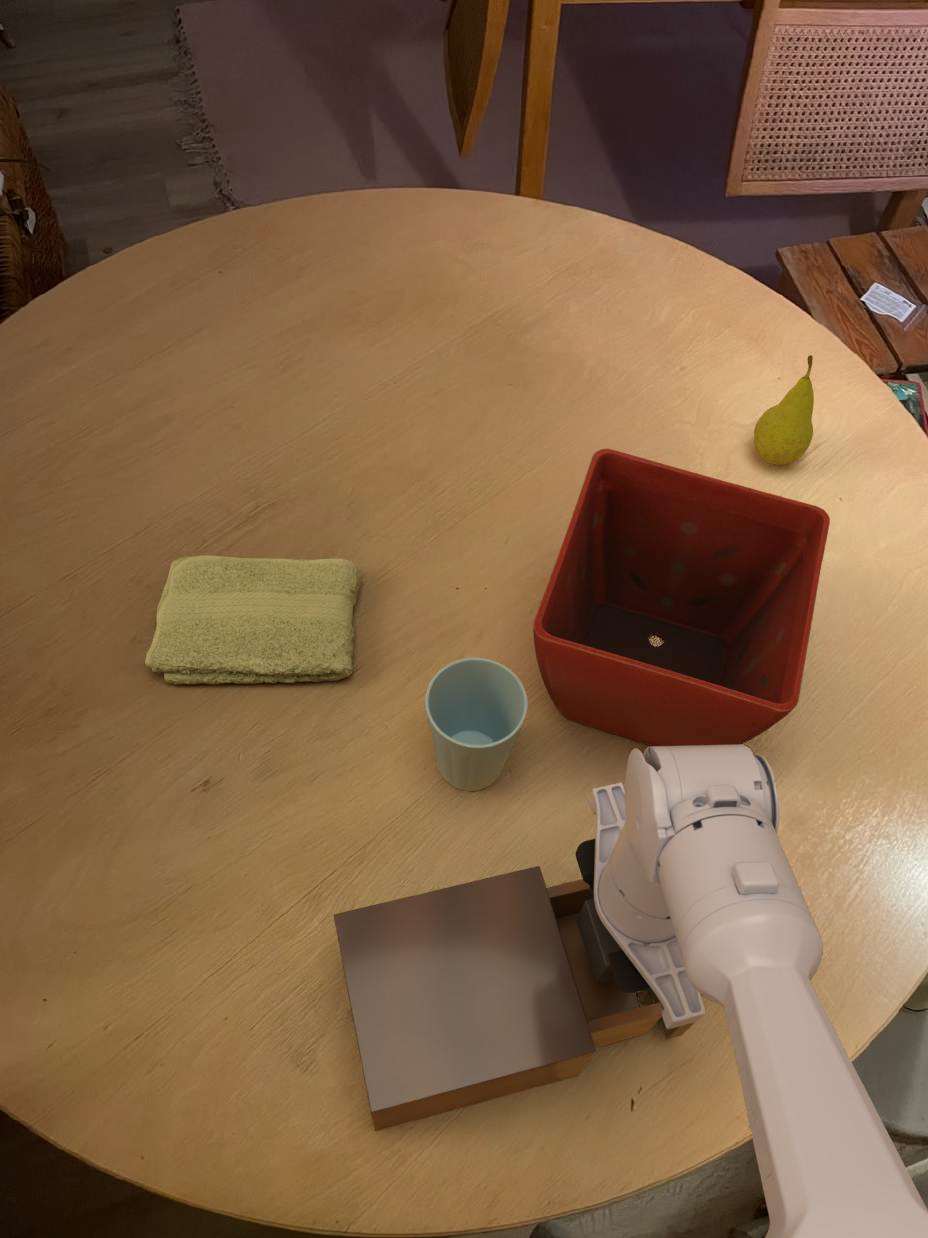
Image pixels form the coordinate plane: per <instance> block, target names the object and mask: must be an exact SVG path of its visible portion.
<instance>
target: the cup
mask: <svg viewBox="0 0 928 1238" xmlns="http://www.w3.org/2000/svg"><path fill="white" fill-rule="evenodd" d="M424 705H425V707H424V708H425V712H426V717H427V722H428V726H429V730H430V734H431V741H432V746H433V750H434V755H435V759H436V760H435V761H436V764H437V769H438V772H439V773H440V775H441V776H442V778H443V779H444V781H445V782H446V783H448V784H449V785H450V786H451V787H454V788H455V789H457V790H460V791H464V792H465V791H466V792H476V791H477V792H478V791H481V790H485V789H486V788H489V787H490V786H492V785H493V784H494V783H495V782H496V781H497V780H498V779H499V778H500V775H501V774H502V772H503V769H504V767H505V765H506V762H507V760H508V758H509V756H510V753H511V751H512V749H513V747H514V744H515V742H516V739H517V738H518V735H519V734H520V732H521V729H522V727H523V725H524V723H525V721H526V718H527V714H528V710H529V709H528V708H529V700H528V694H527V691H526V688H525V686H524V684H523V682H522V680H521V679H520V678H519V676H518V675H517V674H516V673H515V672H514V671H513V670H511V669H510V668H509V667H508V666H506V665H504V664H502V663H501V662H498V661H497V660H493V659H489V658H485V657H466V658H465V657H464V658H460V659H457V660H455V661H452V662H450V663H448V664H446V665H445V666H443V667H442V668H441V669H440V670H438V671H437V672H436V673H435V675H434V676H433V677H432V679H431V680H430V682H429V684H428V686H427V688H426V692H425V698H424Z"/></svg>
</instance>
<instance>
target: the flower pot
mask: <svg viewBox="0 0 928 1238" xmlns="http://www.w3.org/2000/svg"><path fill="white" fill-rule="evenodd" d="M830 524H831V518H830V515H829V514H828V513H827V511H826V510H825V509H823V508H821V507H819V506H818V505H814V504H810V503H806V502H803V501H800V500H796V499H792V498H788V497H784V496H782V495H777V494H773V493H770V492H766V491H762V490H759V489H755V488H751V487H748V486H744V485H740V484H737V483H734V482H729V481H726V480H722V479H718V478H715V477H712V476H707V475H704V474H700V473H697V472H693V471H690V470H686V469H684V468H680V467H676V466H672V465H668V464H665V463H662V462H658V461H654V460H651V459H647V458H644V457H640V456H637V455H633V454H630V453H627V452H624V451H619V450H616V449H611V448H602V449H599V450H597V451H595V452H594V453H593V455H592V456H591V459H590V462H589V465H588V468H587V471H586V474H585V477H584V481H583V482H582V486H581V490H580V492H579V495H578V497H577V501H576V504H575V506H574V510H573V512H572V515H571V518H570V520H569V523H568V527H567V530H566V532H565V535H564V537H563V541H562V544H561V546H560V549H559V552H558V555H557V557H556V560H555V563H554V565H553V568H552V571H551V574H550V576H549V579H548V582H547V585H546V587H545V590H544V592H543V596H542V597H541V600H540V604H539V606H538V609H537V612H536V614H535V617H534V619H533V624H532V625H533V627H532V628H533V629H532V633H533V644H534V651H535V657H536V662H537V666H538V669H539V673H540V677H541V679H542V683H543V684H544V687H545V690H546V691H547V694H548V695H549V697H550V700H551V701H552V703H553V705H554V707H555V708H556V709H557V710H558V711H559V713H560V715H562V716H563V717H564V718H565V719H567V720H569V721H572V722H575V723H578V724H582V725H584V726H588V727H592V728H594V729H597V730H600V731H603V732H607V733H610V734H613V735H616V736H620V737H623V738H626V739H629V740H632V741H636V742H639V743H641V744H645V745H647V746H650V747H651V746H696V745H740V744H743V745H744V744H745V743H747V742H749V741H751V740H753V739H755V738H756V737H758V736H759V735H761V734H763V733H765V732H766V731H768V730H769V729H770V728H772V727H773V726H774V725H776V724H778V723H779V722H780V721H781V720H783V719H784V718H785V717H787V716H788V715H789V714H790V713H791V712H792V711H793V710H794V709H795V708H796V707H797V706H798V703H799V701H800V697H801V696H800V695H801V690H802V684H803V683H802V682H803V676H804V670H805V665H806V660H807V653H808V647H809V641H810V634H811V629H812V624H813V618H814V612H815V606H816V599H817V593H818V588H819V582H820V576H821V571H822V566H823V561H824V557H825V556H824V555H825V551H826V546H827V545H826V544H827V539H828V534H829V528H830ZM652 635H658V636H660V637H661V638H662V641H663V642H662V644H661V645H658V646H656V645H654V644H651V641H650V637H651V636H652Z"/></svg>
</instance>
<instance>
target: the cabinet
mask: <svg viewBox="0 0 928 1238" xmlns="http://www.w3.org/2000/svg"><path fill="white" fill-rule="evenodd" d="M547 888H548V887H547V886H546V882H545V879H544V876H543V873H542V870H541V866H540V865H536V866H533V867H528V868H525V869H520V870H515V871H512V872H507V873H504V874H499V875H495V876H490V877H486V878H482V879H477V880H474V881H471V882H470V881H469V882H465V883H460V884H457V885H453V886H447V887H443V888H440V889H436V890H431V891H427V892H422V893H418V894H414V895H410V896H407V897H406V896H405V897H402V898H401V897H400V898H398V899H393V900H389V901H385V902H381V903H380V902H379V903H377V904H372V905H368V906H364V907H359V908H355V909H351V910H346V911H342V912H338V913H334V914H333V920H334V924H335V931H336V937H337V941H338V947H339V951H340V956H341V962H342V968H343V973H344V978H345V983H346V988H347V995H348V1000H349V1004H350V1010H351V1015H352V1019H353V1021H352V1022H353V1025H354V1031H355V1037H356V1041H357V1046H358V1047H357V1048H358V1052H359V1057H360V1062H361V1068H362V1073H363V1078H364V1083H365V1088H366V1089H365V1090H366V1094H367V1100H368V1105H369V1109H370V1116H371V1119H372V1124H373V1129H374V1132H379V1131H382V1130H386V1129H389V1128H393V1127H396V1126H400V1125H403V1124H404V1125H405V1124H408V1123H411V1122H414V1121H419V1120H423V1119H426V1118H429V1117H434V1116H437V1115H440V1114H445V1113H448V1112H451V1111H456V1110H458V1109H463V1108H466V1107H470V1106H474V1105H477V1104H481V1103H485V1102H488V1101H492V1100H495V1099H499V1098H503V1097H506V1096H510V1095H513V1094H516V1093H521V1092H525V1091H527V1090H531V1089H534V1088H535V1089H536V1088H539V1087H543V1086H545V1085H549V1084H554V1083H557V1082H561V1081H563V1080H568V1079H572V1078H575V1077H578V1076H579V1075H580V1073H581V1072H582V1071H583V1069H584V1068H585V1067H586V1065H588V1063H589V1062H590V1060H591V1059H592V1058H593V1056H594V1055H595V1054H596V1053H597V1049H596V1048H595V1046H594V1042H593V1039H592V1036H591V1032H590V1029H589V1026H588V1023H587V1019H586V1016H585V1013H584V1010H583V1006H582V1003H581V1000H580V996H579V993H578V990H577V987H576V983H575V980H574V977H573V973H572V970H571V967H570V964H569V960H568V957H567V954H566V951H565V947H564V944H563V941H562V937H561V934H560V931H559V928H558V924H557V921H556V918H555V914H554V911H553V908H552V905H551V901H550V898H549V895H548V892H547Z"/></svg>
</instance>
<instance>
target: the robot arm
mask: <svg viewBox="0 0 928 1238" xmlns="http://www.w3.org/2000/svg"><path fill="white" fill-rule="evenodd" d="M626 764H627V765H626V772H625V780H624V781H625V783H624V784H623V782H621V781H620V782H616V783H611V784H607V785H603V786H598V787H593V788H592V790H591V792H590V795H589V798H588V804H589V806H590V810H591V813H592V814H594V816H595V835H594V838H591V839H587V840H584V841H582V842H581V843H580V844H579V845H578V846H577V848H576V850H575V853H574V855H575V860H576V862H577V865H578V868H579V872H580V875H581V877H582V878H581V879H583V880H584V882H586V883H587V884H589V887H590V895H591V899H594V902H595V907H596V911H597V913H598V915H599V918H600V920H601V921H602V923H603V924H604V926H605V927H606V929H607V930H608V931H609V933H610V934H611V935H612V937H613V938H614V939H615V941H616V942H617V943H618V945H619V946H620V947H621V949H622V950H620V951H617V952H613V953H609V954H608V958H609V961H610V964H611V967H612V970H613V973H614V976H615V979H616V982H617V984H618V986H619V988H620V990H621V991H622V992H624V993H639V992H642V991H648V990H649V989H651V988H652V990H653V991H654V992H655V994H656V995H657V997H658V998H659V1000H660V1001H661V1003H662V1005H663V1007H664V1009H663V1011H662V1017H663V1020H664V1023H665V1026H666V1028H667V1029H671V1028H675V1027H679V1026H683V1025H686V1024H690V1023H693V1022H695V1023H697V1022H699V1021H700V1020H701V1019H702V1018H703V1017H704V1016H705V1015H706V1014H707V1011H706V1008H705V1005H704V1001H703V997H704V998H705V999H707V1000H708V1001H710V1002H712V1003H715V1004H717V1005H719V1006H721V1007H723V1008H724V1011H725V1015H726V1021H727V1025H728V1030H729V1035H730V1040H731V1043H732V1048H733V1053H734V1059H735V1063H736V1068H737V1073H738V1077H739V1082H740V1087H741V1091H742V1096H743V1102H744V1105H745V1110H746V1115H747V1119H748V1124H749V1127H750V1128H749V1129H750V1133H751V1139H752V1142H753V1149H754V1152H755V1157H756V1162H757V1166H758V1170H759V1171H758V1172H759V1176H760V1181H761V1185H762V1190H763V1195H764V1199H765V1204H766V1209H767V1213H768V1218H769V1226H768V1231H767V1232H766V1235H765V1237H764V1238H928V1208H927V1206H926V1204H925V1202H924V1200H923V1199H922V1196H921V1195H920V1193H919V1190H918V1189H917V1187H916V1185H915V1183H914V1180H912V1177H911V1176H910V1173H909V1171H908V1168H906V1166H905V1163H904V1162H903V1160H902V1158H901V1155H900V1153H899V1152H898V1150H897V1147H896V1146H895V1144H894V1142H893V1140H892V1138H891V1137H890V1134H889V1132H888V1130H887V1128H886V1127H885V1124H884V1122H883V1121H882V1119H881V1117H880V1114H879V1113H878V1110H877V1109H876V1107H875V1105H874V1104H873V1101H872V1099H871V1097H870V1095H869V1093H868V1092H867V1089H866V1087H865V1086H864V1083H863V1082H862V1080H861V1078H860V1076H859V1073H858V1072H857V1070H856V1067H855V1066H854V1064H853V1062H852V1060H851V1058H850V1056H849V1054H848V1052H847V1049H846V1048H845V1047H844V1044H843V1042H842V1041H841V1039H840V1037H839V1034H838V1033H837V1031H836V1029H835V1027H834V1025H833V1023H832V1021H831V1019H830V1017H829V1015H828V1013H827V1011H826V1010H825V1007H824V1006H823V1003H822V1001H821V999H820V998H819V996H818V994H817V992H816V990H815V988H814V986H813V983H812V980H813V978H814V976H815V975H816V973H817V971H818V969H819V967H820V964H821V962H822V959H823V954H824V942H823V939H822V936H821V933H820V931H819V929H818V927H817V924H816V922H815V920H814V918H813V915H812V913H811V910H810V909H809V906H808V903H807V901H806V898H805V897H804V894H803V892H802V890H801V887H800V885H799V883H798V880H797V878H796V876H795V874H794V871H793V869H792V866H791V865H790V862H789V859H788V857H787V854H786V852H785V850H784V848H783V846H782V843H781V840H780V838H779V836H778V831H779V825H780V803H779V801H780V800H779V794H778V788H777V784H776V779H775V775H774V772H773V769H772V767H771V765H770V763H769V761H768V760H767V759H766V757H765V756H764V755H762V754H760V753H757V754H756V753H755V754H754V753H753V752H752V750H751V749H750V748H749V747H748V746H747V745H745V744H744V743H743V744H740V745H696V746H651V745H650V746H648V747H646V749H645V751H644V753H643V752H642V751H641V750H640V749H639V748H633V749H632V750H631V752H630V754H629V756H628V760H627V763H626ZM702 996H703V997H702Z"/></svg>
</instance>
